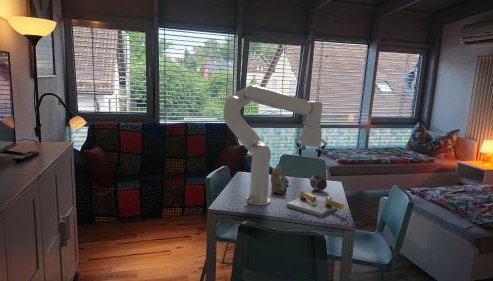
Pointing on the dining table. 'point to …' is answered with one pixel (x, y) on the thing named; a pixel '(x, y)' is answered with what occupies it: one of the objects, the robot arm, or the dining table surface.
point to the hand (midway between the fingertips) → (309, 156)
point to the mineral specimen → (318, 182)
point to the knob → (333, 203)
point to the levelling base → (311, 207)
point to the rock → (278, 180)
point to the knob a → (307, 196)
